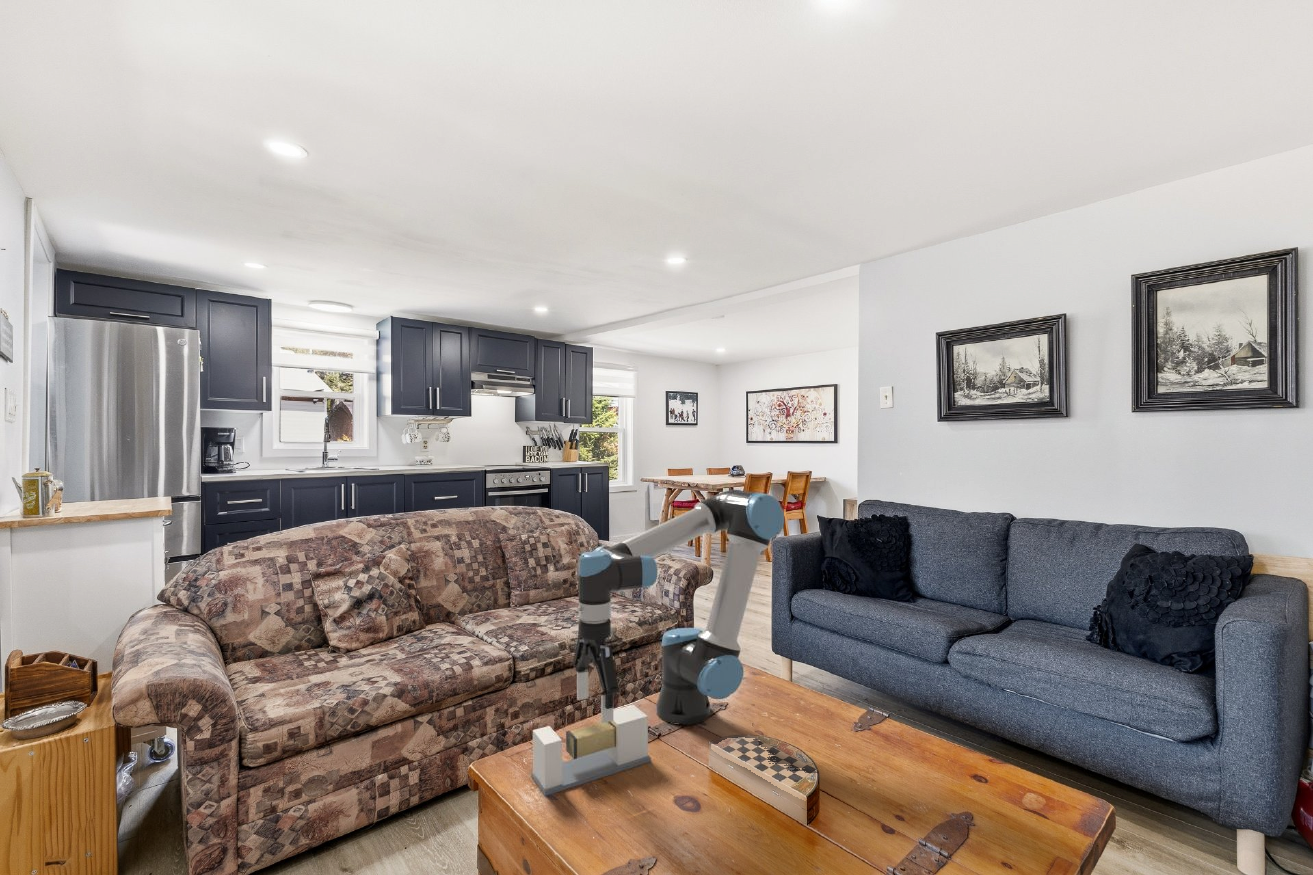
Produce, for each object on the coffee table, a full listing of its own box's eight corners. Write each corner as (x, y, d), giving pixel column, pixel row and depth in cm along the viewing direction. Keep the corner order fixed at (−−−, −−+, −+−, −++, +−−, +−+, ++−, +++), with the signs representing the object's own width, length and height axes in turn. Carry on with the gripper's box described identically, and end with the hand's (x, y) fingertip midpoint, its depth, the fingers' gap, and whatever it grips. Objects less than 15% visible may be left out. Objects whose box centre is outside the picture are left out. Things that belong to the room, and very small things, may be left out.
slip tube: (634, 730, 151) (634, 712, 151) (643, 738, 148) (643, 719, 147) (566, 750, 142) (566, 731, 142) (573, 759, 138) (573, 739, 138)
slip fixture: (632, 744, 154) (632, 702, 154) (650, 761, 146) (650, 716, 146) (531, 775, 140) (530, 729, 140) (545, 795, 132) (544, 746, 132)
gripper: (559, 608, 152) (559, 693, 152) (603, 636, 131) (603, 735, 131) (587, 603, 156) (587, 687, 156) (634, 631, 134) (634, 727, 135)
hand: (594, 709), depth 143 cm, fingers open, 13 cm apart
